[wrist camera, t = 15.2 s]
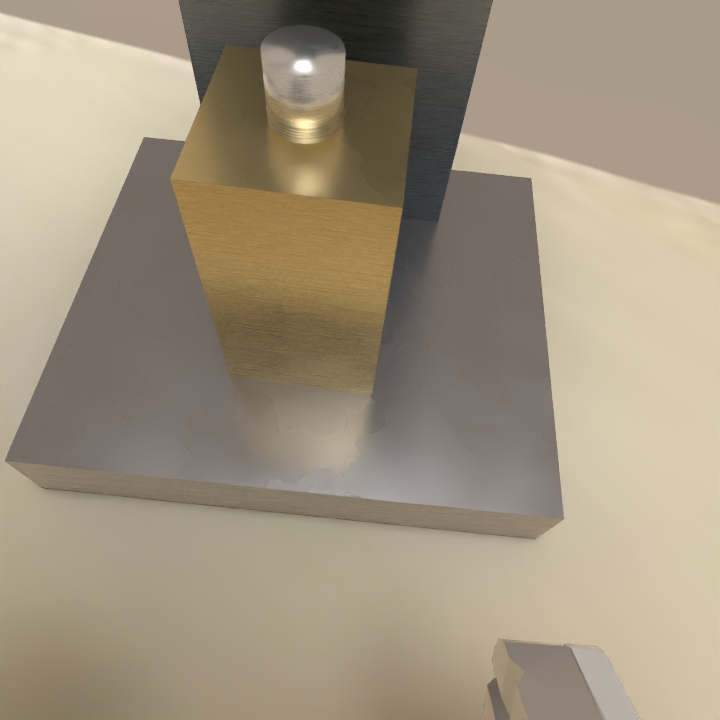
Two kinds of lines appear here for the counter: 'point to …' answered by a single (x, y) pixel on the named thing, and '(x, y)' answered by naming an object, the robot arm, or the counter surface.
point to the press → (306, 404)
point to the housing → (298, 206)
